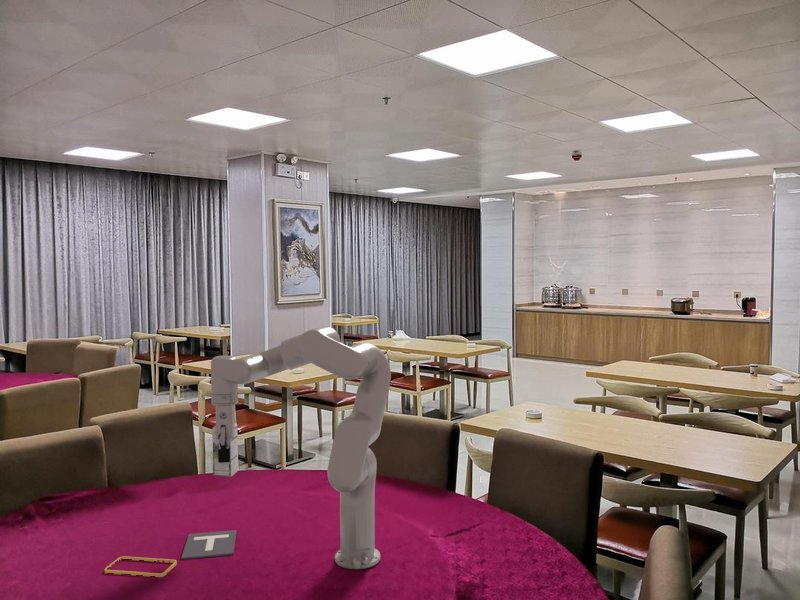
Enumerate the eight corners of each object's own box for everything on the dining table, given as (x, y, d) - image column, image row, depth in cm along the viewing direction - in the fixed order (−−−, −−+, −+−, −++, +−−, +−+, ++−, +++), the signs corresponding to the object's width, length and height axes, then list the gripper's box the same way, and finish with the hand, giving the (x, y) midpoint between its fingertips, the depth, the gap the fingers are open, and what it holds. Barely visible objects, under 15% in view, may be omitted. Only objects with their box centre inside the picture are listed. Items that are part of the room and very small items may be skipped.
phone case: (120, 560, 176) (120, 556, 176) (178, 564, 173) (178, 559, 173) (103, 574, 168) (102, 570, 168) (162, 579, 165) (162, 574, 165)
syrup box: (238, 470, 188) (238, 422, 188) (231, 477, 183) (230, 427, 182) (220, 470, 189) (219, 422, 188) (212, 476, 183) (211, 427, 183)
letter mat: (233, 554, 178) (233, 552, 178) (181, 559, 175) (181, 557, 175) (236, 531, 194) (236, 529, 194) (188, 535, 191) (188, 533, 191)
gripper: (235, 404, 177) (236, 466, 178) (240, 392, 194) (240, 449, 195) (207, 405, 175) (208, 468, 176) (214, 392, 193) (215, 450, 194)
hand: (225, 457), depth 186 cm, fingers closed on syrup box, 7 cm apart
